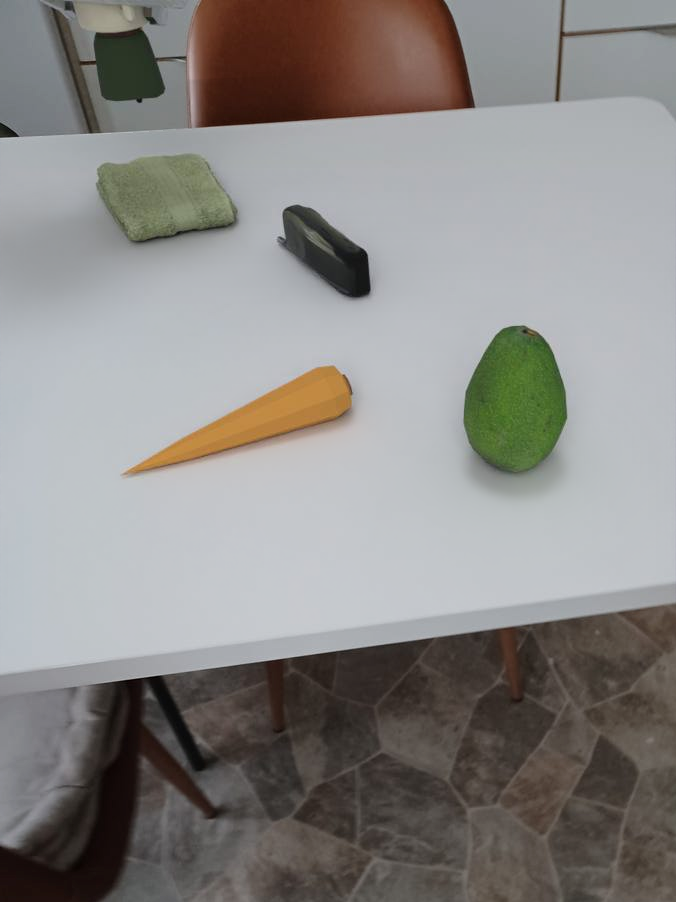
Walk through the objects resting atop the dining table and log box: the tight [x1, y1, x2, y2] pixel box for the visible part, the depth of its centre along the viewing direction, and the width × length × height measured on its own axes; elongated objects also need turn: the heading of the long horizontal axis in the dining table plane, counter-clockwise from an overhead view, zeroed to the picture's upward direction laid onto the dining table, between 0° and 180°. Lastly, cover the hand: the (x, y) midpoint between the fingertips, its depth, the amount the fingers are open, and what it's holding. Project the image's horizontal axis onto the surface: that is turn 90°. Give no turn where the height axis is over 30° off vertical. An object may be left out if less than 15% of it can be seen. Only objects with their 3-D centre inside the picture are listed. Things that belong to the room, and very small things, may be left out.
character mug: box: [72, 1, 166, 104], centre depth 93 cm, size 11×7×13 cm, turn 34°
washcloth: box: [95, 153, 239, 242], centre depth 107 cm, size 13×18×3 cm
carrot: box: [119, 365, 354, 476], centre depth 78 cm, size 20×4×4 cm, turn 119°
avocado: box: [462, 324, 568, 473], centre depth 73 cm, size 8×8×12 cm
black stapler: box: [276, 204, 372, 297], centre depth 97 cm, size 5×3×15 cm
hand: (118, 15), depth 93 cm, fingers closed on character mug, 7 cm apart
